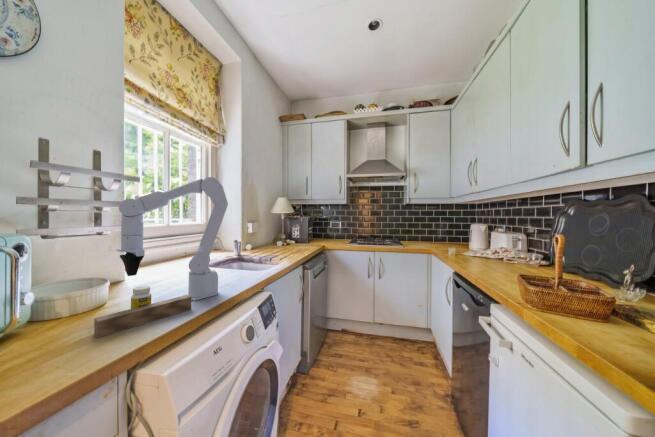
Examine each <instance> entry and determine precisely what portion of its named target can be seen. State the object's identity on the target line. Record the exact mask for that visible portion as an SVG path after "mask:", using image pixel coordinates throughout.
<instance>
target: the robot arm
mask: <svg viewBox="0 0 655 437" xmlns="http://www.w3.org/2000/svg"><path fill="white" fill-rule="evenodd" d="M192 193H193V194H194V193H195V194H202V195H203V193H205V195H207V196H208V197H209V199H210V201H211V202H212V204H213V207H212V210H211V213H210V216H209V218H208V221H207V224H206V226H205V228H204V232H203V235H202V237H201V239H200V242H199V245H198V248H197V250H196V253H195V254H194V255H193V256H192V257H191V259H190V261H189V263H188V268H189V270H188V287H187V288H188V291H187V293H186V294H183V295H182V296H184V295H188V296H191V301H199V300H202V299H207V298H209V297H213V296H216V295H219V294H220V292H219V274H218V272H217V271H216V270H214V269H211V268H210V267H209V266H210V262H211V259H210V257H211V256H210V255H211V252H212V249H213V247H214V244H215V242H216V239H217V235H218V233H219V230H220V228H221V225H222V222H223V219H224V217H225V213H226V211H227V209H228V207H229V206H228V205H229V202H228V199H227V196H226V193H225V189H224V187H223V185H222V184H221V182H220V180H218V178H215V177H212V176H207V177H204V178H200V179H199V178H198V179H196V180H193V181H190V182H188V183H185V184H182V185H179V186H177V187H174V188H172V189H171V188H170V189H169V190H166V191H163V190H161V189H158V190H156V189H151V190H149V192H148V193H146V194H142V195H140V196H139V195H135V196H134V198H129V197H128V198H125V199H123V200H122V201H121V202H120V203H119V205H118V211H119V212H120V214H121V224H120V225H121V226H120V231H121V232H120V234H121V235H120V236H121V237H120V248H116V250H115V251H116V252H118V253H119V252H121V253H125V254H120V255H119V258H120V260H121V261H122V263H123V265H124V269H125V272H126V275H127V276H128V277H130V276H137V274H138V271H139V266H140V265H141V262H142V260H143V259H144V257H145V253H146V252H145V251H146V250H145V247H144V215H145V213H148V212H152V211H154V210H157V209H159V208H160V209H161V208H163V207H165V206H168V204H169V202H170V201H171V200H174V199H177V198H181V197H184V196H186V195H189V194H192Z"/></svg>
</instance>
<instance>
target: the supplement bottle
mask: <svg viewBox="0 0 655 437" xmlns="http://www.w3.org/2000/svg"><path fill="white" fill-rule="evenodd" d="M149 304H152V293H151V286H150V285H141V286H135V287H134V288H132V294H131V297H130V309H133V308H137V307H141V306H145V305H149Z"/></svg>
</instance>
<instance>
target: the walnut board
mask: <svg viewBox="0 0 655 437" xmlns="http://www.w3.org/2000/svg"><path fill="white" fill-rule="evenodd" d="M183 295H184V296H183ZM183 295H181V296H177V297H172V298H169V299H164V300H160V301H158V302H153V303H151V304H149V305H145V306H141V307H137V308H133V309H131V308H129V309H126V310H122V311H118V312H114V313H110V314H106V315H102V316H99V317H98V316H97V317H95V318H94V320H93V323H94V324H93V328H94V329H93V334H94V336H95V337H96V338H97V339H99V338H102V337H106V336H108V335H112V334H115V333H119V332H122V331H124V330H129V329H131V328H132V329H133V328H135V327H138V326H141V325H143V324H148V323H151V322H154V321H157V320H160V319H165V318H167V317H171V316H173V315H176V314H181V313H183V312H186V311H187V312H188V311H189V310H192V300H191V296H188V295H186V294H183Z"/></svg>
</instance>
